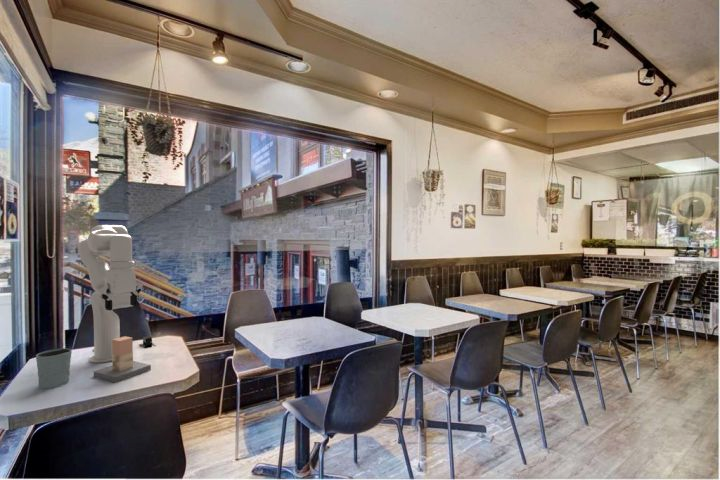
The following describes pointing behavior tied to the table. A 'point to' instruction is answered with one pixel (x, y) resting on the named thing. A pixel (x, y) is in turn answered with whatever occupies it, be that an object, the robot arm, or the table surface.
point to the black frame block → (147, 342)
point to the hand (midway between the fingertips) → (121, 307)
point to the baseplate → (121, 372)
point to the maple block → (122, 361)
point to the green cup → (53, 367)
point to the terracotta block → (122, 346)
